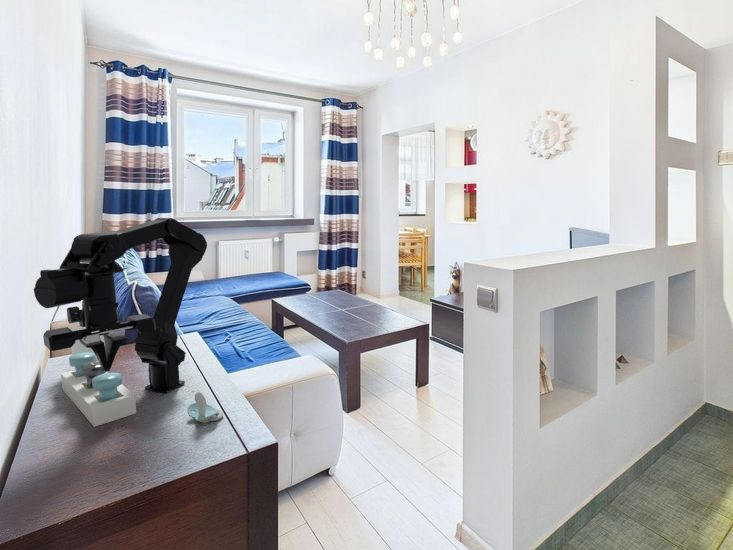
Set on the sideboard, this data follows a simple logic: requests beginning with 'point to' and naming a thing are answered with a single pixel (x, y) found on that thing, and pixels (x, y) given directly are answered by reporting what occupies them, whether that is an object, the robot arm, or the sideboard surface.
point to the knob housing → (97, 400)
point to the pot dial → (92, 372)
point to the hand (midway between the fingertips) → (106, 370)
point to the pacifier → (203, 410)
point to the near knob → (107, 385)
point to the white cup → (81, 348)
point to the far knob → (81, 361)
